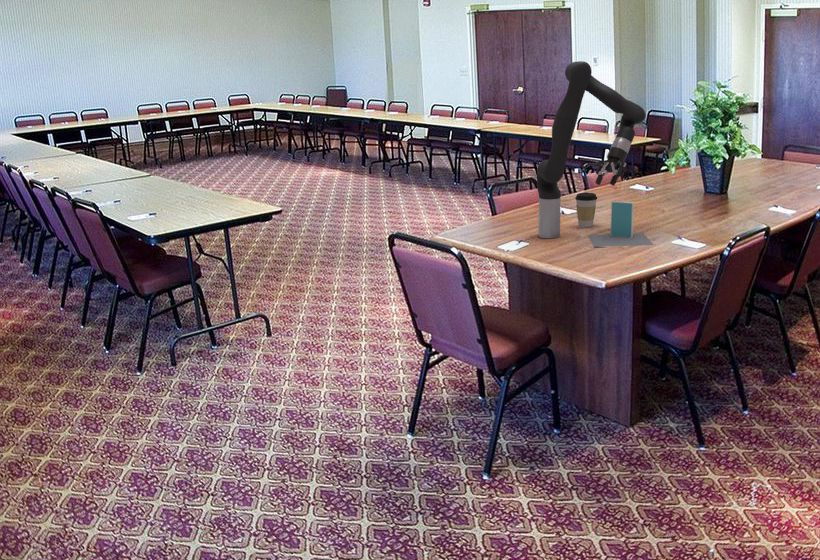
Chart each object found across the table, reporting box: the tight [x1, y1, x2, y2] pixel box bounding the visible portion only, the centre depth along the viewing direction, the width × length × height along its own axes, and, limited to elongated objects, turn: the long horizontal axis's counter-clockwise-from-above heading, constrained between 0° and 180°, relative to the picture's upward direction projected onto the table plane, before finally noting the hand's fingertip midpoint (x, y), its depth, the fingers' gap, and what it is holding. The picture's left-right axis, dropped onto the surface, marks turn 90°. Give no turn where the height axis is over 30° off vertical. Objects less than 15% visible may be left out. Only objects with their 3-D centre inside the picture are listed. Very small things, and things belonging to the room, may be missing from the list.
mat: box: [587, 232, 655, 249], centre depth 327 cm, size 24×20×1 cm
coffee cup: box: [574, 192, 598, 229], centre depth 353 cm, size 10×10×15 cm
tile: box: [610, 200, 635, 238], centre depth 331 cm, size 2×9×15 cm, turn 61°
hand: (604, 184), depth 328 cm, fingers open, 8 cm apart
